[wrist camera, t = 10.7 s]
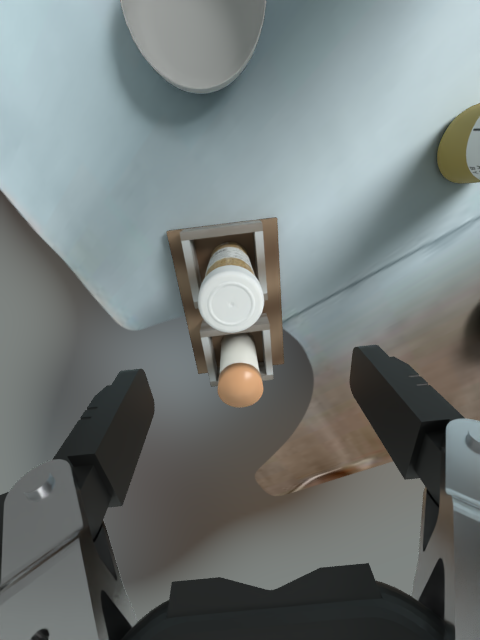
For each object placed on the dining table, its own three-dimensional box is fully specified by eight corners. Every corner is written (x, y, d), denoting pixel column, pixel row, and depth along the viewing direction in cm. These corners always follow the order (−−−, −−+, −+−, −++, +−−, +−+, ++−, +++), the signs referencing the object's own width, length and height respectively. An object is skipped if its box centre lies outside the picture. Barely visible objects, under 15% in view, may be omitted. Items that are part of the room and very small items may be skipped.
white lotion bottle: (217, 331, 33) (214, 374, 25) (253, 326, 33) (261, 369, 25) (223, 360, 35) (221, 409, 27) (256, 356, 35) (264, 404, 27)
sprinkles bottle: (219, 286, 31) (213, 343, 18) (203, 249, 29) (184, 287, 17) (255, 271, 30) (274, 321, 18) (241, 233, 28) (251, 260, 16)
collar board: (168, 230, 29) (159, 234, 25) (275, 216, 29) (282, 219, 25) (199, 368, 37) (196, 388, 33) (282, 359, 37) (288, 377, 33)
